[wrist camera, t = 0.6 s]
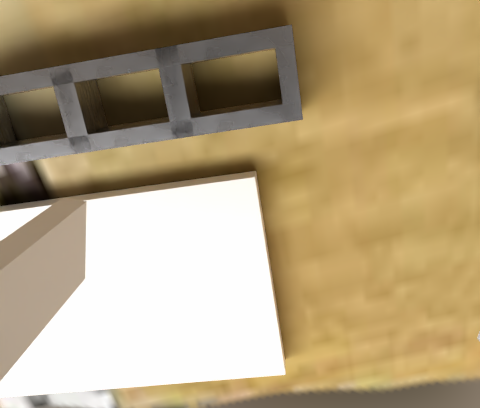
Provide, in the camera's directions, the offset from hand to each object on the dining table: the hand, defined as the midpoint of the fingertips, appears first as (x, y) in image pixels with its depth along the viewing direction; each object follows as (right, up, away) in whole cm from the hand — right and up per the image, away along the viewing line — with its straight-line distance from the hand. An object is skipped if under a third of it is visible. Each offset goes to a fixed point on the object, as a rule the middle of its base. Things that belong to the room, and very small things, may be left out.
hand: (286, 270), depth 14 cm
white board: (-13, -5, +26) cm, 29 cm away
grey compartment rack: (-9, +10, +20) cm, 24 cm away
